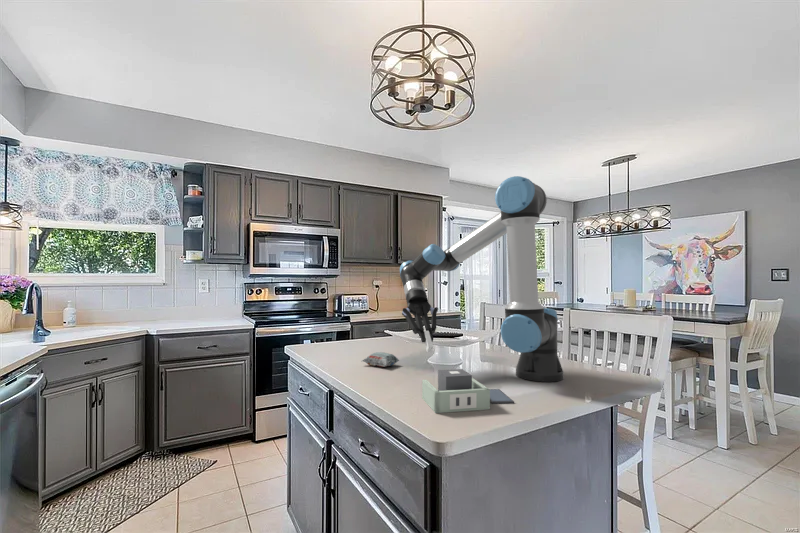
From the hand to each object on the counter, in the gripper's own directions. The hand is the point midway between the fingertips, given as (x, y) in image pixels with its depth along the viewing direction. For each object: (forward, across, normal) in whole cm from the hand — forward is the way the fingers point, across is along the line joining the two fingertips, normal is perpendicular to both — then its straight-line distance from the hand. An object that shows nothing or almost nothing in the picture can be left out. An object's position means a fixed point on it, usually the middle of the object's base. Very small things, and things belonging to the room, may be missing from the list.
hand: (430, 349), depth 124 cm
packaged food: (-11, +12, -26) cm, 30 cm away
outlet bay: (+22, 0, +7) cm, 23 cm away
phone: (+21, -14, +5) cm, 25 cm away
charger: (+22, 0, +7) cm, 23 cm away
